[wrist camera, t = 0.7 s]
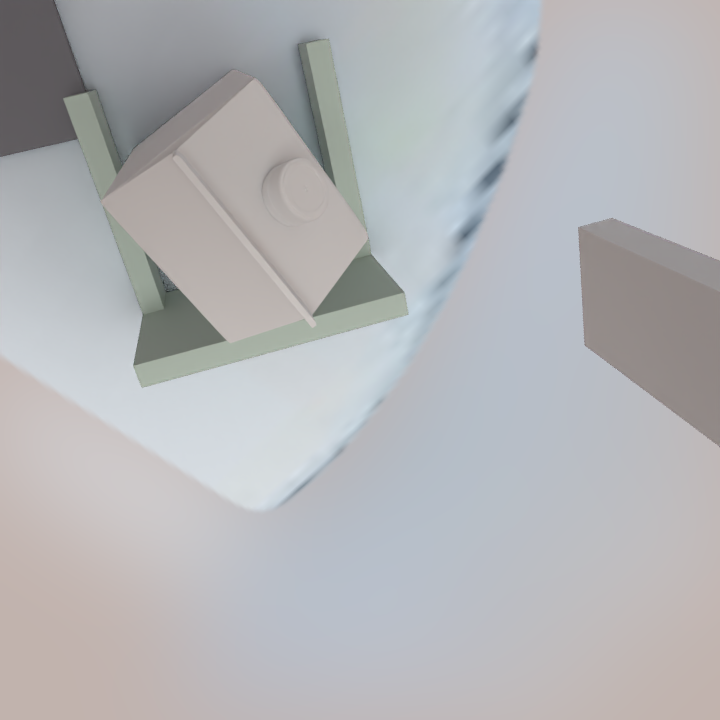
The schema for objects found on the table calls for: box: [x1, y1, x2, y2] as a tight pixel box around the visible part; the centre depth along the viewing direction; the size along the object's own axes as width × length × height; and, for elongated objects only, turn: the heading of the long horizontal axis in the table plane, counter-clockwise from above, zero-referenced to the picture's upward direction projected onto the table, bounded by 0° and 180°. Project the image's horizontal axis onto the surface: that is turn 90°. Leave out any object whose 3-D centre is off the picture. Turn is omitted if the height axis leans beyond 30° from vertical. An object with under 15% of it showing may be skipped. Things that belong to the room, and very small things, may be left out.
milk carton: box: [100, 69, 368, 343], centre depth 30 cm, size 7×7×19 cm
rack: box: [63, 39, 408, 388], centre depth 35 cm, size 13×13×10 cm
